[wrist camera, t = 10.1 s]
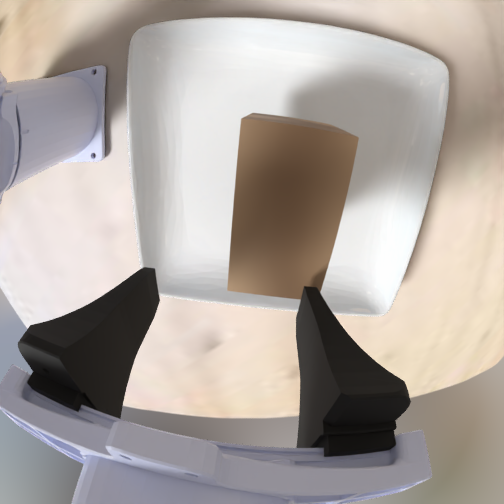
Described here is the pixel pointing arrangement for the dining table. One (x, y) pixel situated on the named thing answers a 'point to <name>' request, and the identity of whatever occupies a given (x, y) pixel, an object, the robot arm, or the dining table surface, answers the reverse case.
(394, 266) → the salad plate
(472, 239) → the dining table surface
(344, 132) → the tan cardboard box
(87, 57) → the dining table surface
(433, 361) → the dining table surface
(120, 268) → the dining table surface
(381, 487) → the robot arm
